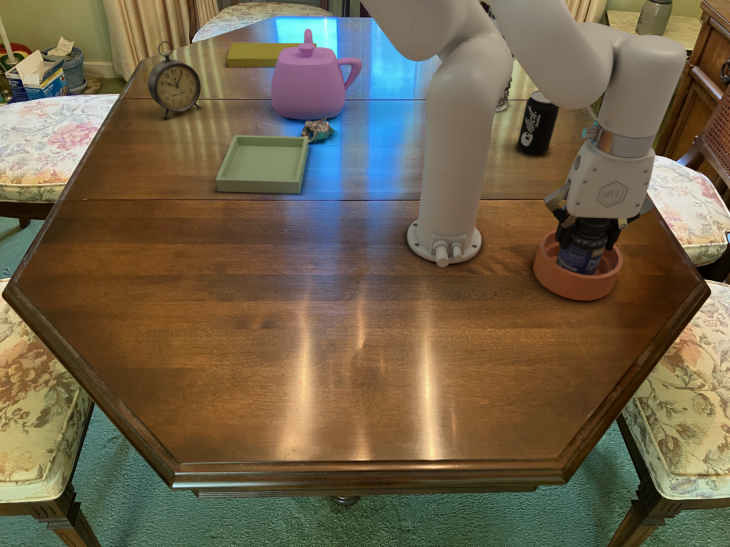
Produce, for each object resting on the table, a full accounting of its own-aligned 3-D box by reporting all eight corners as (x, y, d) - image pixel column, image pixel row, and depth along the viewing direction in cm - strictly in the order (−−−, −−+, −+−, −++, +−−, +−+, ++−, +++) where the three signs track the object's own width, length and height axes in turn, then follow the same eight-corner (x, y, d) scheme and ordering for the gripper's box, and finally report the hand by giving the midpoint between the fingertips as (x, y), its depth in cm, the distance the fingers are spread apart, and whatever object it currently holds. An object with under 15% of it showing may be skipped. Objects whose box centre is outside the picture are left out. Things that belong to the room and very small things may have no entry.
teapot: (362, 125, 126) (363, 59, 116) (269, 125, 125) (262, 58, 115) (359, 84, 143) (360, 24, 133) (278, 84, 142) (272, 23, 132)
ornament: (319, 125, 125) (319, 110, 123) (340, 136, 122) (340, 120, 119) (292, 136, 121) (291, 121, 119) (312, 148, 118) (312, 132, 115)
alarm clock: (163, 123, 125) (145, 50, 114) (152, 114, 128) (134, 43, 117) (206, 109, 130) (193, 39, 119) (195, 101, 133) (181, 32, 122)
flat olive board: (227, 66, 150) (316, 66, 151) (226, 58, 148) (315, 58, 150) (233, 50, 159) (316, 50, 160) (232, 42, 158) (316, 43, 159)
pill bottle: (586, 291, 85) (609, 235, 78) (548, 277, 87) (566, 221, 80) (597, 269, 89) (619, 213, 82) (559, 256, 91) (578, 201, 84)
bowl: (623, 303, 84) (634, 279, 80) (542, 301, 84) (550, 276, 81) (599, 251, 93) (608, 228, 90) (525, 249, 93) (532, 226, 90)
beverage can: (548, 158, 116) (563, 104, 108) (516, 154, 117) (528, 101, 109) (547, 143, 121) (561, 91, 113) (516, 140, 122) (528, 87, 114)
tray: (299, 193, 104) (298, 182, 103) (217, 191, 104) (215, 179, 103) (308, 147, 118) (308, 136, 116) (235, 145, 118) (234, 134, 116)
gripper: (563, 149, 70) (532, 258, 81) (700, 153, 69) (648, 262, 81) (549, 122, 75) (522, 228, 87) (676, 126, 75) (631, 231, 87)
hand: (583, 243), depth 84 cm, fingers closed on pill bottle, 6 cm apart
